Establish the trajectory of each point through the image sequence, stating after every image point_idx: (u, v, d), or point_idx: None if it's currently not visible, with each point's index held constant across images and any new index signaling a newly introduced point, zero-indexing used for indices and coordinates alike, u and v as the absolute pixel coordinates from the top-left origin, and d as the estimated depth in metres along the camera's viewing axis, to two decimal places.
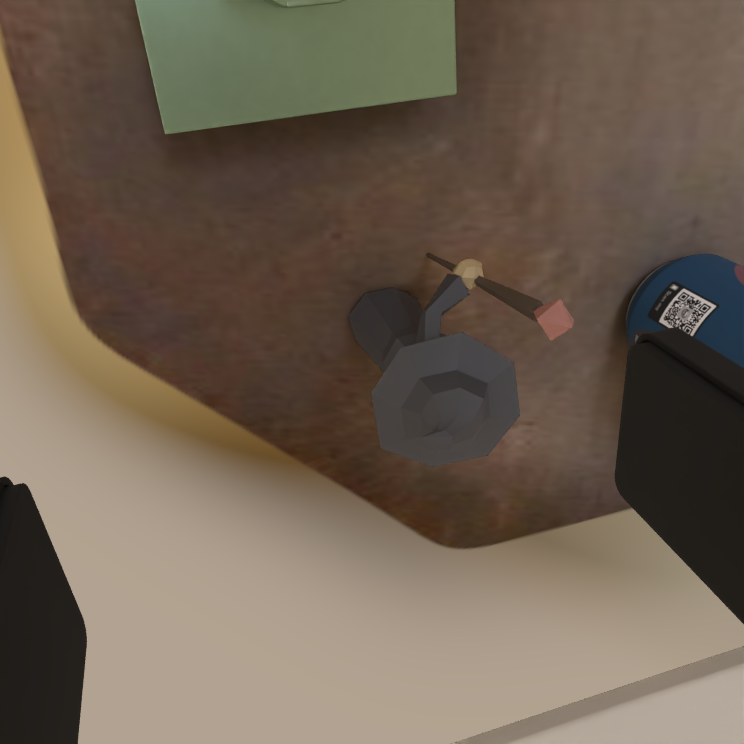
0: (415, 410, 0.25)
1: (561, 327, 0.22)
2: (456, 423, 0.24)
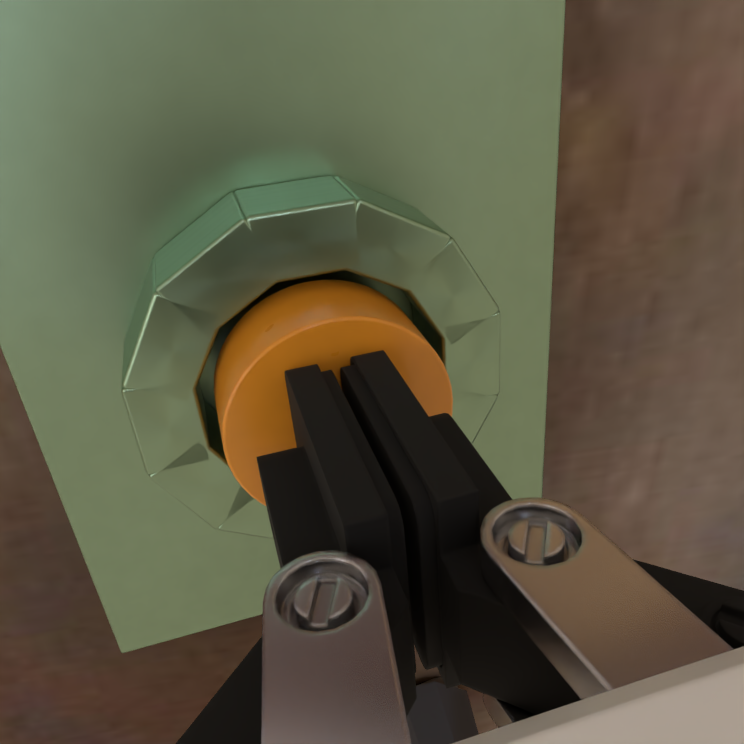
0: None
1: None
2: None
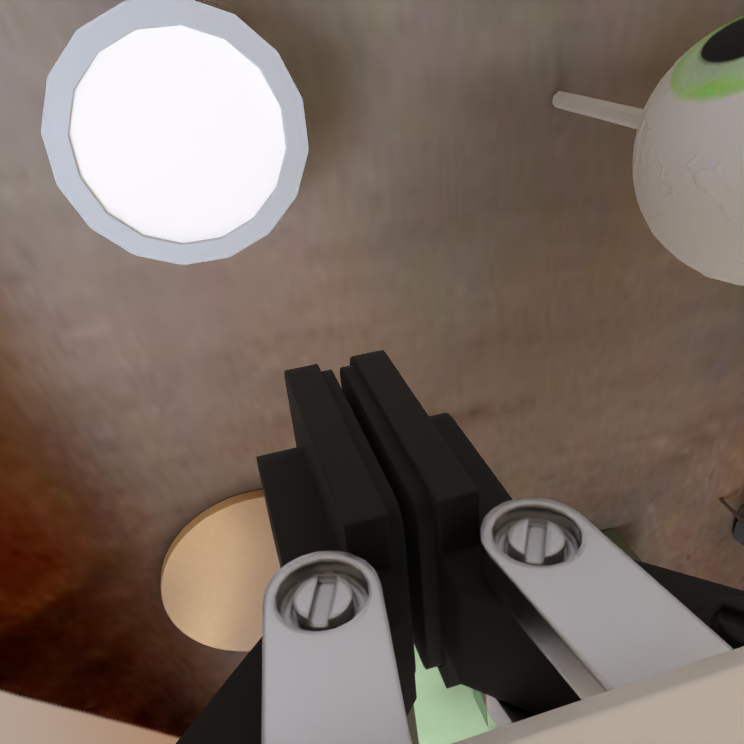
0: None
1: None
2: None
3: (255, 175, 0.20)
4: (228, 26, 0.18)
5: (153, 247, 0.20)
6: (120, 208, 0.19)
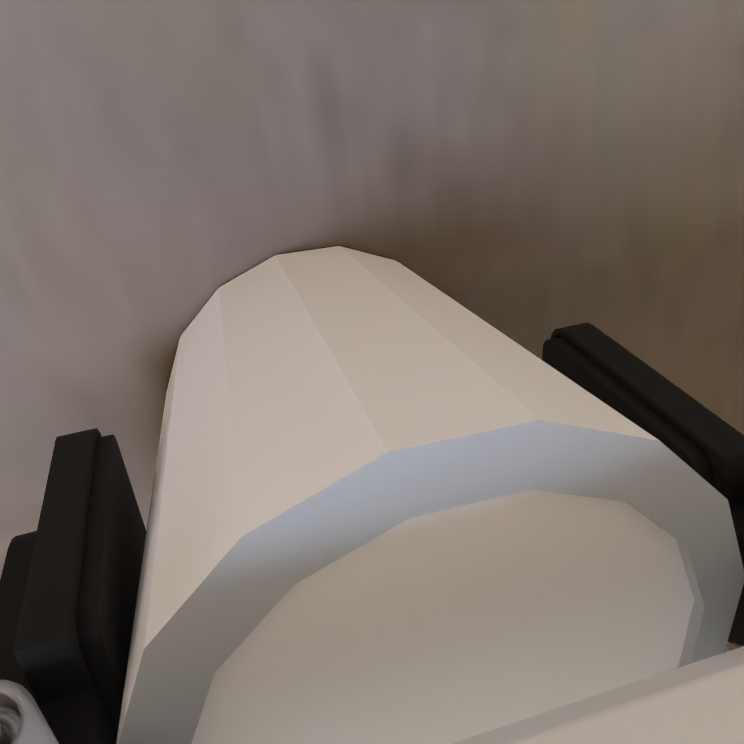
0: None
1: None
2: None
3: None
4: (640, 472, 0.06)
5: None
6: None
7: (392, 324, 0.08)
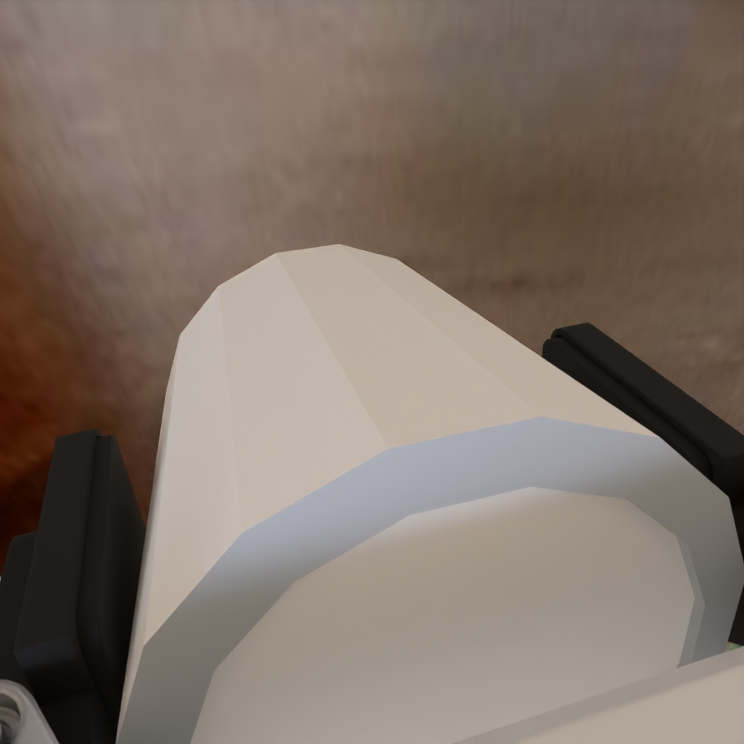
0: None
1: None
2: None
3: None
4: (640, 469, 0.06)
5: None
6: None
7: (393, 321, 0.08)
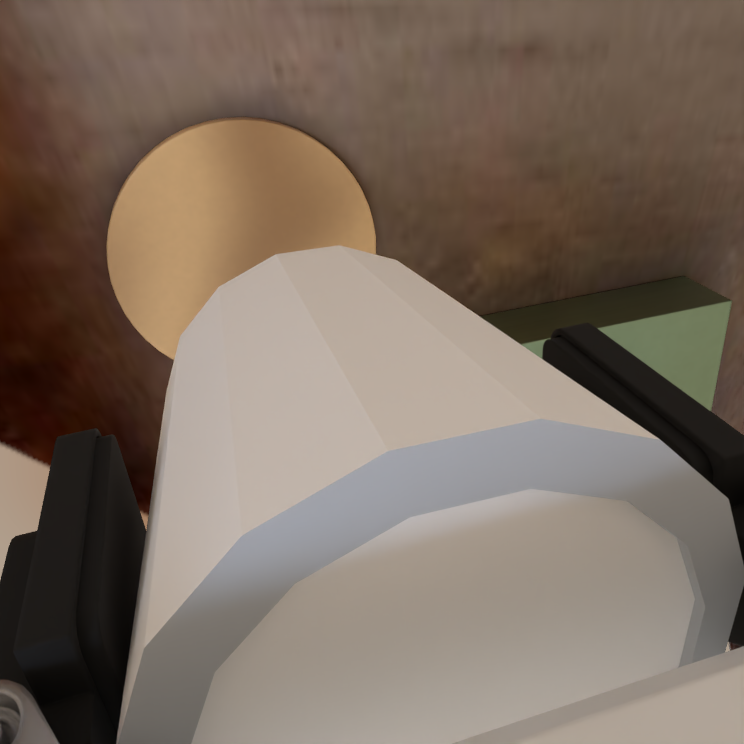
0: None
1: None
2: None
3: None
4: (641, 471, 0.06)
5: None
6: None
7: (392, 323, 0.08)
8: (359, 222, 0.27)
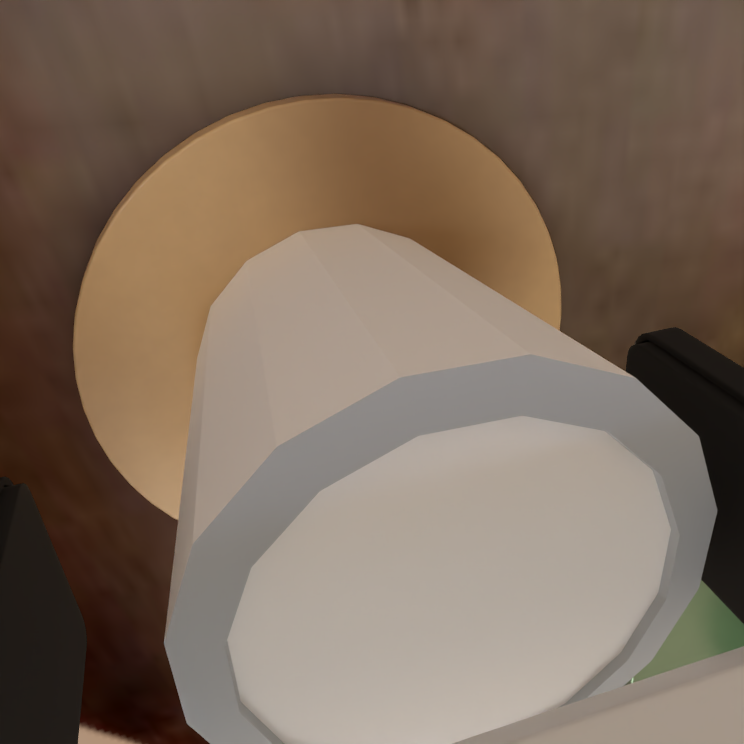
0: None
1: None
2: None
3: (587, 642, 0.09)
4: (618, 405, 0.07)
5: None
6: (313, 736, 0.09)
7: (405, 285, 0.09)
8: (537, 288, 0.15)
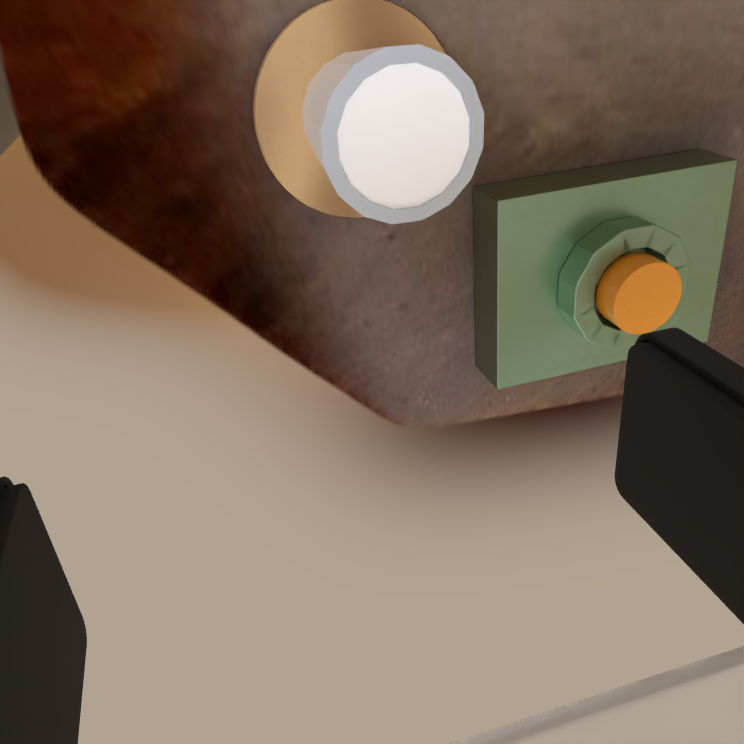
0: None
1: None
2: None
3: (447, 163, 0.29)
4: (445, 64, 0.27)
5: (375, 211, 0.29)
6: (359, 183, 0.28)
7: None
8: None
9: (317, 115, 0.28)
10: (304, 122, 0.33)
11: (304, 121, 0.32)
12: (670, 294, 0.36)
